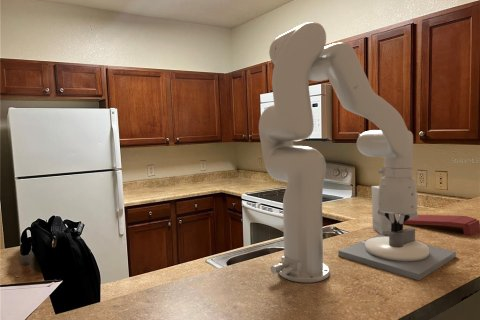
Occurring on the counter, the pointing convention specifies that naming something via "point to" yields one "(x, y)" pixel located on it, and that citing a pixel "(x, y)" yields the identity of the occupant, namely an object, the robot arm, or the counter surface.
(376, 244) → the dial
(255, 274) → the counter surface
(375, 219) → the skincare box
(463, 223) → the dark red ramp
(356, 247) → the dial plate
